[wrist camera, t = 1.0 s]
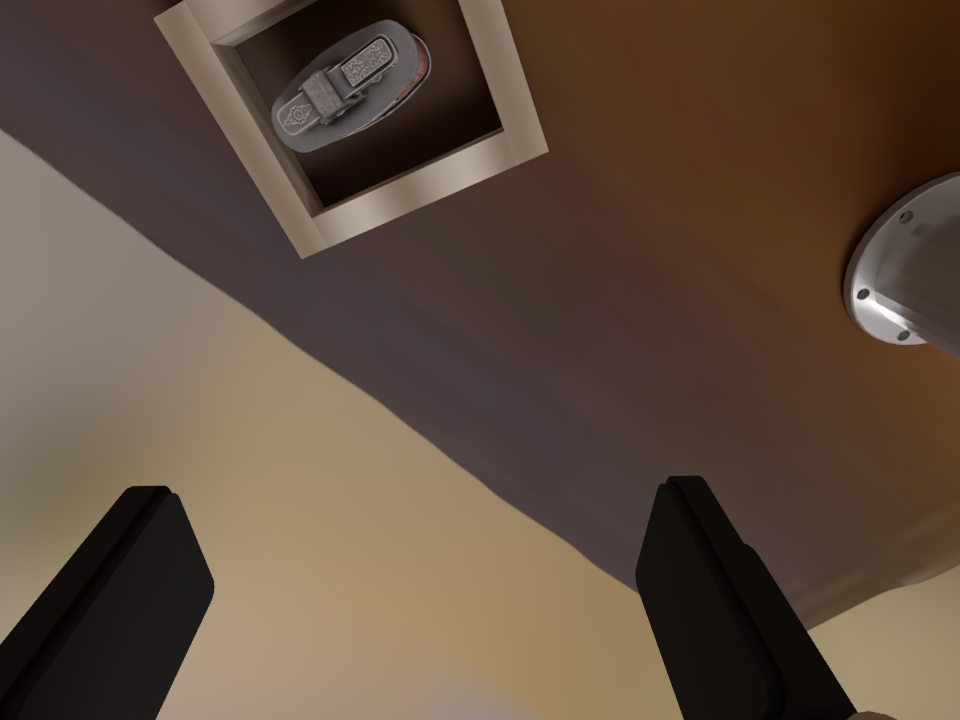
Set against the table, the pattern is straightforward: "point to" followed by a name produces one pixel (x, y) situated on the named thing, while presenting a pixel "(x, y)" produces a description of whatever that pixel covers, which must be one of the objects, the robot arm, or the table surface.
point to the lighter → (351, 86)
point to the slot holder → (273, 165)
